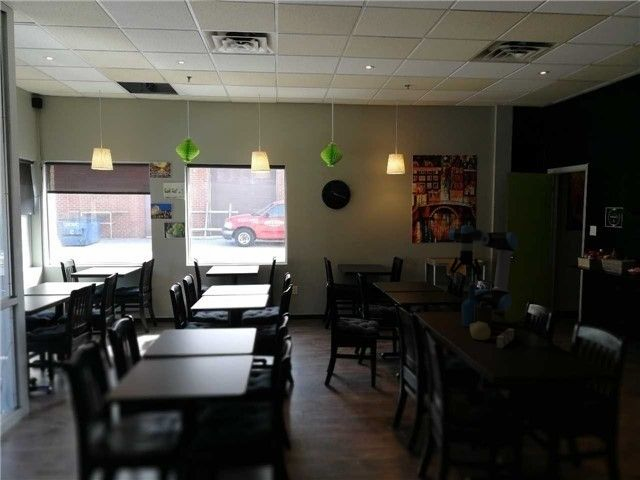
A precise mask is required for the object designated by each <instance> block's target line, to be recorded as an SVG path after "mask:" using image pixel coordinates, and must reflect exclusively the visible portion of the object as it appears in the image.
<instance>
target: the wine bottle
mask: <svg viewBox="0 0 640 480" xmlns="http://www.w3.org/2000/svg"><path fill="white" fill-rule="evenodd" d="M475 290H476V285H475V282H472V281H471V282H469V284H468V297H467V298H466V299H465V300H464V301H463V302H462V303H461V325H462V327H466V328H469V329H470V324H473V323H475V322H474V305H478V304H480V302H479V301H477V300H476V299H475Z"/></svg>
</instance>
